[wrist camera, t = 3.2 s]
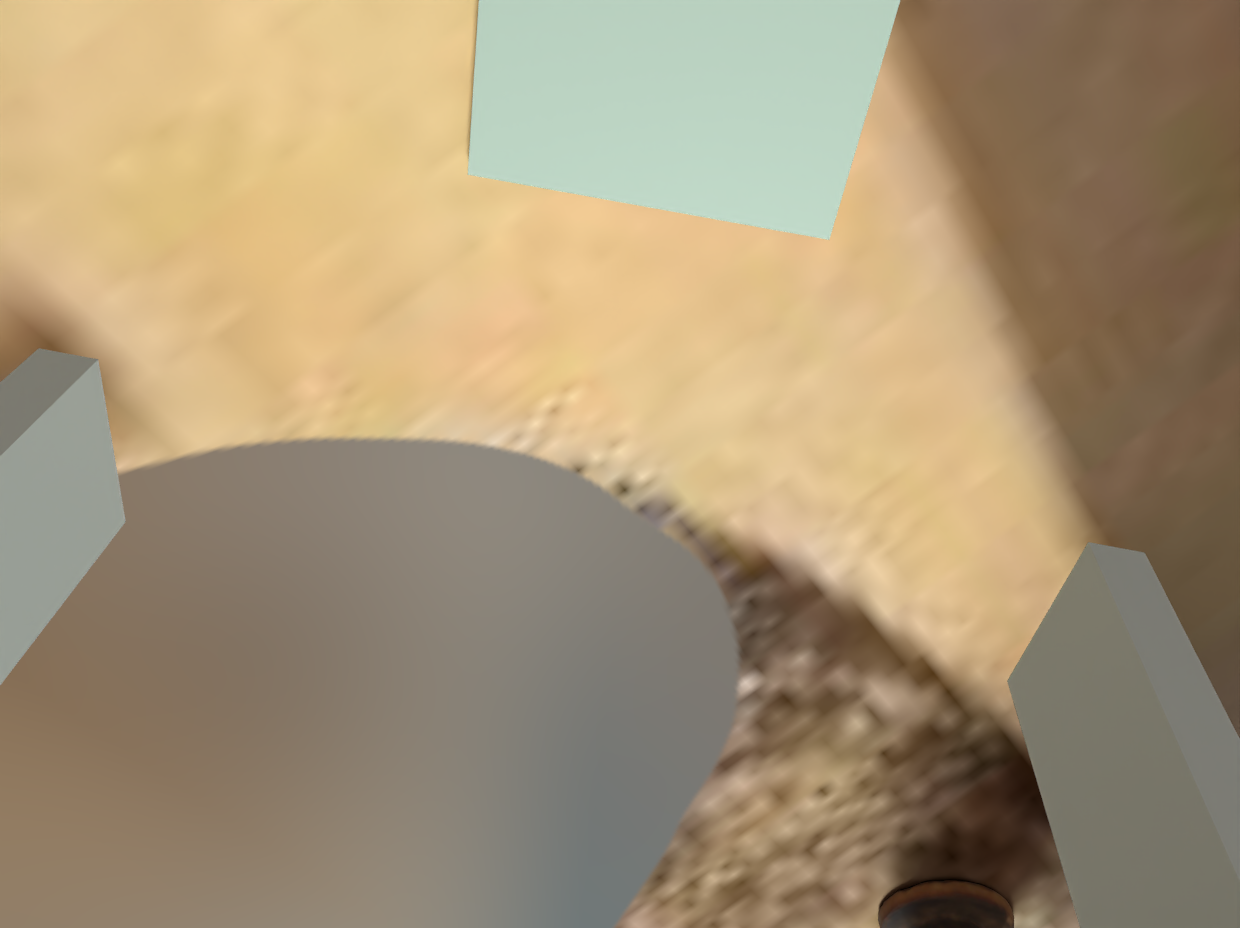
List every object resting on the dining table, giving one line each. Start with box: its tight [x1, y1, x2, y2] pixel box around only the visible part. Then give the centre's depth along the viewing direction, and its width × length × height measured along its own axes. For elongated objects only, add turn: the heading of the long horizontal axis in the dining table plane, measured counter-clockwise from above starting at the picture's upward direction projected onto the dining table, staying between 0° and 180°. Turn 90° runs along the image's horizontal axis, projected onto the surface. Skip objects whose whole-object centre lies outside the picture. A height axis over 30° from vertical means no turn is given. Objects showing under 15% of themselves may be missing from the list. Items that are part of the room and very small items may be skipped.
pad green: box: [468, 0, 900, 240], centre depth 34 cm, size 14×14×1 cm
